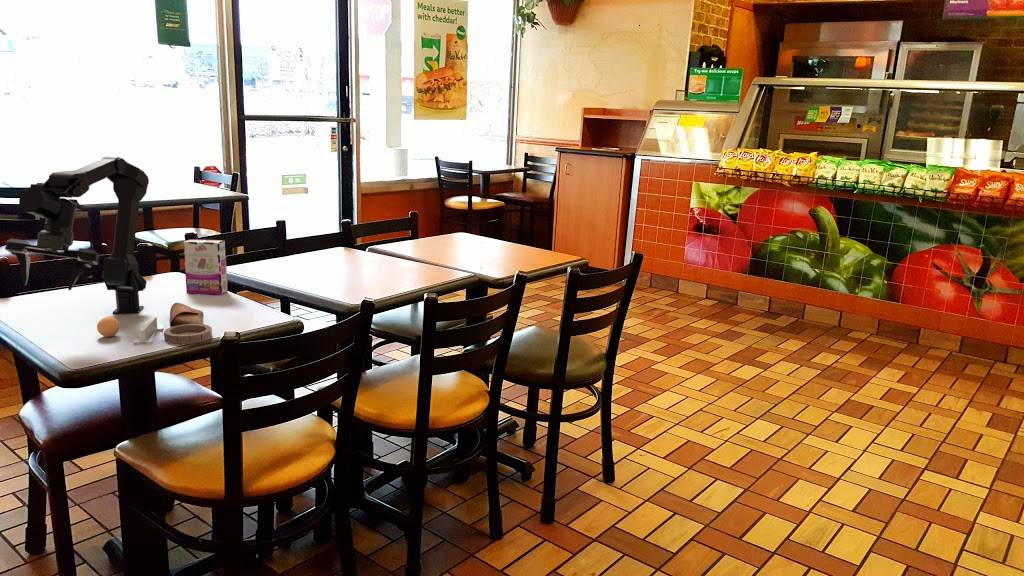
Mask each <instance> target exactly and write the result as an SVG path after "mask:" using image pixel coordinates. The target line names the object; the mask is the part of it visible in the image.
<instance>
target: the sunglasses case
mask: <svg viewBox="0 0 1024 576" xmlns="http://www.w3.org/2000/svg"><path fill="white" fill-rule="evenodd" d="M169 310H170V311H169V328H170V327H173V326H176V325H183V324H204V322H203V314H204V312H203V310H200V309H196V308H192V307H191V306H189V305H186V304H184V303H180V302H175V303H174V304H172V305H171V307H170V309H169Z"/></svg>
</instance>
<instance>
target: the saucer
mask: <svg viewBox="0 0 1024 576" xmlns="http://www.w3.org/2000/svg"><path fill="white" fill-rule="evenodd" d="M212 331H213V329H212V327H211V326H210V325H208V324H204V323H203V324H183V325H176V326H173V327H170V326H169V327H167V328H166V329H165V330H163V338H164V342H165V341H166V343H167V342H168V344H170V343H171V344H172V345H182V344H186V345H193V344H192V343H196V344H200V343H199V342H201V343H203V342H204V341H205V342H206V341H209V340H211V339H212V338H213V332H212ZM211 337H212V338H211ZM210 338H211V339H210ZM205 342H204V343H205Z"/></svg>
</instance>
